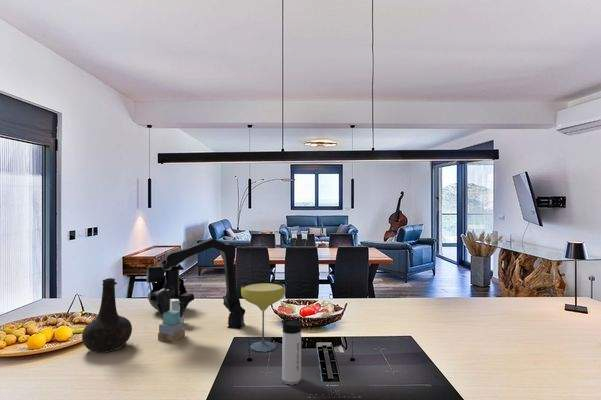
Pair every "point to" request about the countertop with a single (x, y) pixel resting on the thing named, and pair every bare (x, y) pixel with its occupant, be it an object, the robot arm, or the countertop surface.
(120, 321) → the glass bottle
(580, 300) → the countertop surface
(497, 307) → the countertop surface
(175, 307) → the skincare box
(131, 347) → the countertop surface
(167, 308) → the coal bowl
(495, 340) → the countertop surface
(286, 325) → the travel mug
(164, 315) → the teal cube
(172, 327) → the slate slab
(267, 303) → the cocktail glass
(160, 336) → the walnut slab
